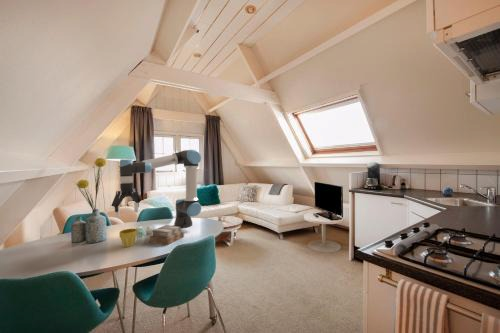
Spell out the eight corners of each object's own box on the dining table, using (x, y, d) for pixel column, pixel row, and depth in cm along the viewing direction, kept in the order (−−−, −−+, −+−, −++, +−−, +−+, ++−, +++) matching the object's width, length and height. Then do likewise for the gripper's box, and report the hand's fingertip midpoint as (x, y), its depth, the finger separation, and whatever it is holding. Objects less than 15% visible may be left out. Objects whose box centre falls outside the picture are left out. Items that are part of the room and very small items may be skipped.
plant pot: (136, 246, 145) (136, 231, 145) (118, 249, 142) (118, 234, 141) (138, 241, 155) (137, 227, 155) (121, 243, 151) (120, 229, 151)
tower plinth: (166, 234, 168) (166, 224, 168) (183, 237, 162) (183, 226, 161) (149, 242, 153) (149, 230, 153) (167, 245, 147) (167, 233, 147)
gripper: (138, 180, 160) (139, 210, 161) (104, 184, 137) (105, 218, 138) (146, 181, 157) (147, 210, 158) (112, 184, 134) (113, 219, 135)
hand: (127, 214), depth 148 cm, fingers open, 13 cm apart
